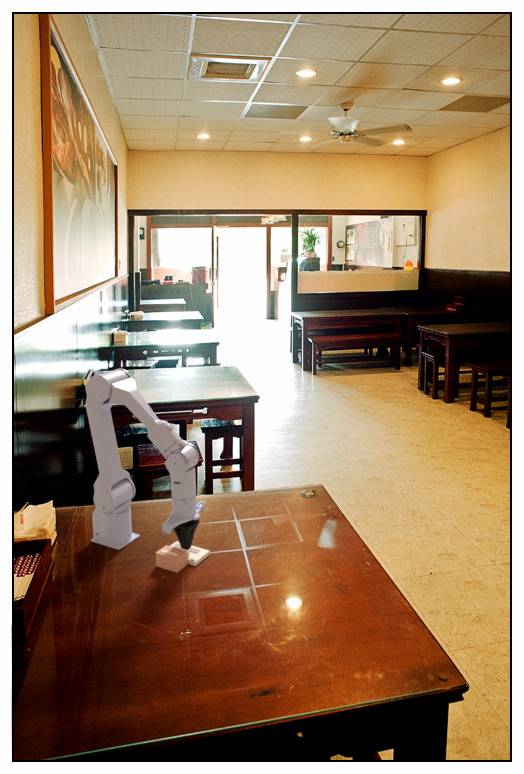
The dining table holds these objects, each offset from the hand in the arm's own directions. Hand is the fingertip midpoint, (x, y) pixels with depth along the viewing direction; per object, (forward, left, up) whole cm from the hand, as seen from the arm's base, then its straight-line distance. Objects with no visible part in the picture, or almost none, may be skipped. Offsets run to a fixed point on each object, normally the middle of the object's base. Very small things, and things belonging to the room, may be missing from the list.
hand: (185, 547), depth 135 cm
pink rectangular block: (0, -6, -2) cm, 6 cm away
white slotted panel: (0, 0, -2) cm, 2 cm away
